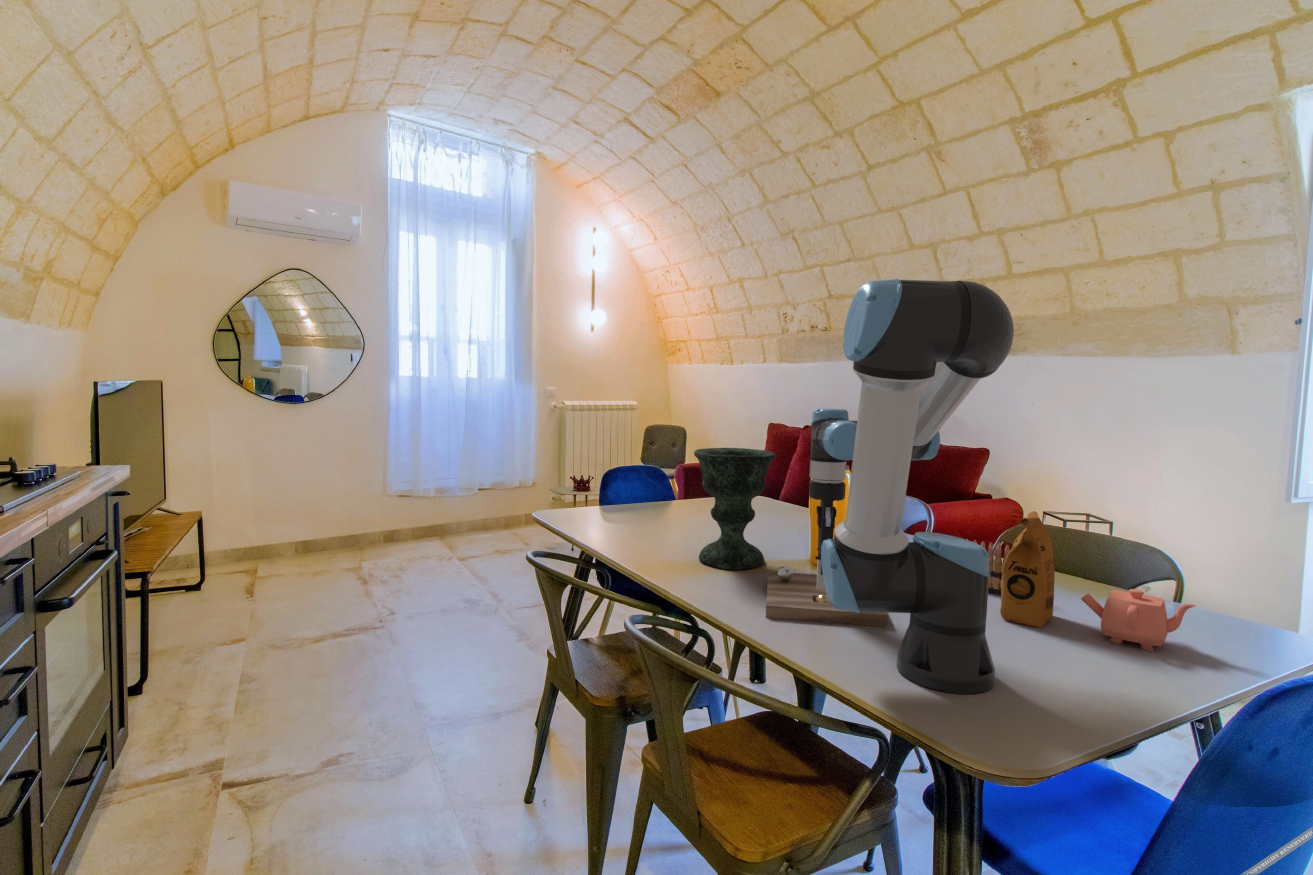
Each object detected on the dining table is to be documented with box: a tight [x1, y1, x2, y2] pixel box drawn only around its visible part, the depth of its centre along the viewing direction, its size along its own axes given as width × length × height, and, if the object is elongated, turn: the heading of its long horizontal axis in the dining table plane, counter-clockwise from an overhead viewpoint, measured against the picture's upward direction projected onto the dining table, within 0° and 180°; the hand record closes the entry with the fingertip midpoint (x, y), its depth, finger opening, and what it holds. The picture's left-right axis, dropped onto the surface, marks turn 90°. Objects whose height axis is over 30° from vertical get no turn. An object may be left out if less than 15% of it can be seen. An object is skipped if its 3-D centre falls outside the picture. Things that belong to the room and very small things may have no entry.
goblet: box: [693, 447, 777, 571], centre depth 181 cm, size 22×23×30 cm
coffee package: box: [999, 511, 1055, 629], centre depth 141 cm, size 10×12×22 cm
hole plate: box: [765, 570, 888, 628], centre depth 149 cm, size 26×24×2 cm
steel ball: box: [777, 565, 794, 581], centre depth 156 cm, size 4×4×4 cm
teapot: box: [1080, 588, 1198, 652], centre depth 129 cm, size 14×12×10 cm
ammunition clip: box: [965, 538, 1010, 596], centre depth 159 cm, size 11×2×12 cm, turn 52°
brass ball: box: [815, 594, 830, 603], centre depth 143 cm, size 4×4×4 cm
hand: (823, 587), depth 145 cm, fingers closed
